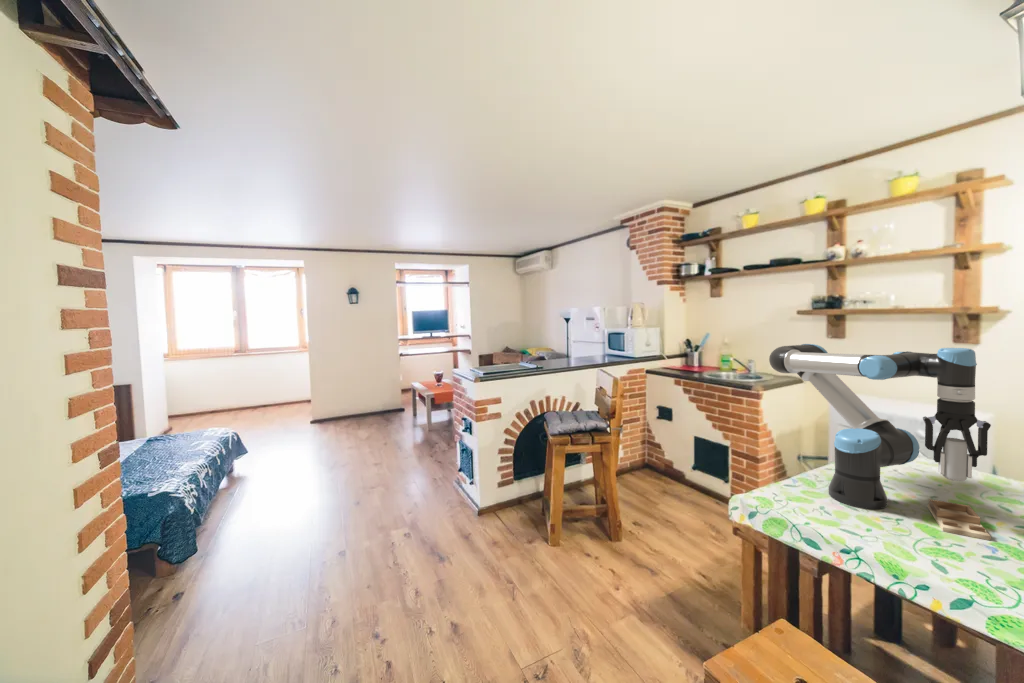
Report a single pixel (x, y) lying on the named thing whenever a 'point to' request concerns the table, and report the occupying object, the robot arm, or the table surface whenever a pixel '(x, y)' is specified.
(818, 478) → the table surface
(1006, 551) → the table surface
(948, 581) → the table surface
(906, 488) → the table surface
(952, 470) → the beverage can
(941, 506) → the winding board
